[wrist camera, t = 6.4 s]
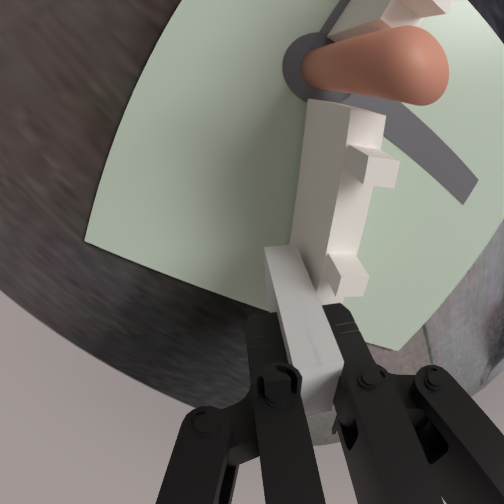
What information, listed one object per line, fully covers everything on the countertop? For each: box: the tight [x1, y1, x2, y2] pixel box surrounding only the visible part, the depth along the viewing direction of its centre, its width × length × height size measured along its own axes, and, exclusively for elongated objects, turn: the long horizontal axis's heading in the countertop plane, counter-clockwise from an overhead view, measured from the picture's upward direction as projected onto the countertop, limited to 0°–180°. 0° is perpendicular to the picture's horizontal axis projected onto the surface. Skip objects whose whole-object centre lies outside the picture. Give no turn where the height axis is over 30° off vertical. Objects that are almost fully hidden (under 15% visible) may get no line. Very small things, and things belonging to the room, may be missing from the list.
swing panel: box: [289, 98, 400, 305], centre depth 12 cm, size 11×2×6 cm, turn 176°
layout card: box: [85, 0, 504, 351], centre depth 14 cm, size 24×23×1 cm
